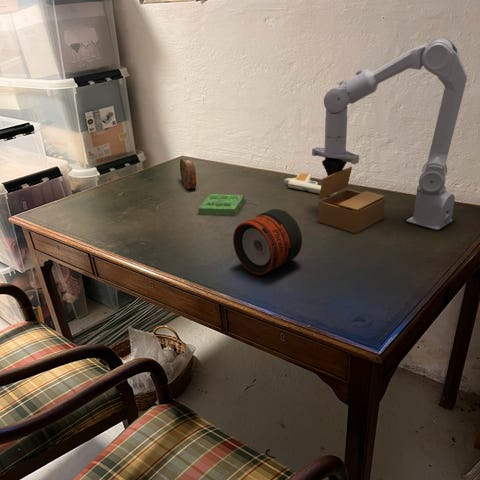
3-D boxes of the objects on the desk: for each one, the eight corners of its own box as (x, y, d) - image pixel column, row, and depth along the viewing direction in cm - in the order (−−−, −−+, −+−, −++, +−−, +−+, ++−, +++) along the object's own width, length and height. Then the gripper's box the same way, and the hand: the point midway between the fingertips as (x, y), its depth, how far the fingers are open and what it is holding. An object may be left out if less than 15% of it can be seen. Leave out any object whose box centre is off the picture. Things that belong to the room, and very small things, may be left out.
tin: (180, 179, 183) (177, 155, 178) (189, 178, 183) (186, 154, 179) (189, 192, 171) (186, 167, 166) (198, 191, 171) (196, 166, 167)
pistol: (350, 187, 166) (332, 198, 158) (298, 177, 176) (279, 187, 169) (350, 180, 164) (332, 190, 157) (298, 170, 175) (279, 180, 168)
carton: (318, 221, 144) (318, 199, 140) (345, 208, 151) (347, 186, 147) (355, 233, 136) (357, 209, 132) (383, 218, 143) (385, 195, 139)
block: (352, 215, 145) (352, 202, 143) (343, 220, 143) (344, 206, 140) (340, 212, 147) (341, 199, 145) (331, 216, 145) (332, 203, 143)
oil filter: (234, 266, 124) (230, 216, 117) (268, 248, 131) (266, 200, 124) (273, 282, 116) (272, 229, 109) (307, 263, 123) (308, 212, 116)
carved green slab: (199, 214, 154) (198, 206, 153) (210, 200, 164) (209, 192, 162) (235, 215, 151) (234, 207, 150) (244, 200, 161) (243, 193, 160)
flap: (319, 199, 140) (318, 199, 140) (347, 186, 147) (346, 186, 147) (323, 178, 136) (322, 178, 136) (352, 166, 143) (351, 166, 143)
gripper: (367, 135, 134) (363, 186, 141) (323, 128, 143) (322, 176, 150) (351, 141, 130) (348, 193, 137) (307, 134, 139) (306, 182, 147)
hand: (333, 184), depth 144 cm, fingers closed
